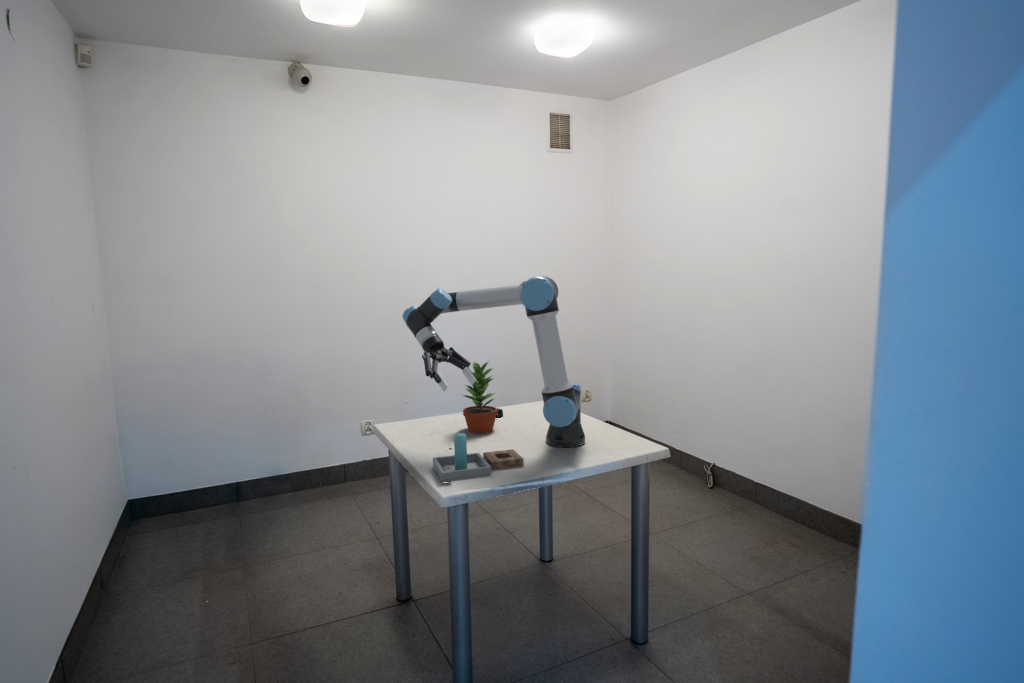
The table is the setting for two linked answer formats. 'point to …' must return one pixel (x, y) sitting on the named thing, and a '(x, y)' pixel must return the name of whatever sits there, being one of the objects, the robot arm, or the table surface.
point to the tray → (460, 474)
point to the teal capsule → (460, 451)
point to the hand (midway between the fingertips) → (460, 385)
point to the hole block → (503, 459)
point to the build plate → (499, 413)
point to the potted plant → (480, 403)
